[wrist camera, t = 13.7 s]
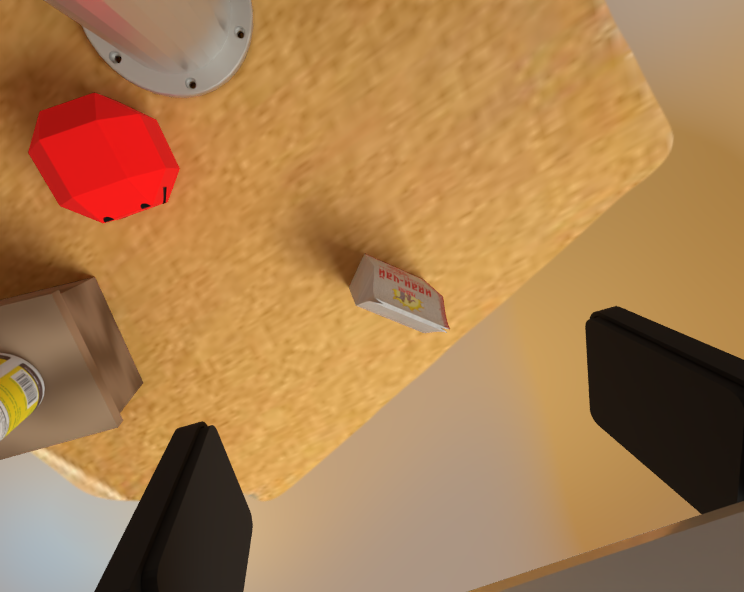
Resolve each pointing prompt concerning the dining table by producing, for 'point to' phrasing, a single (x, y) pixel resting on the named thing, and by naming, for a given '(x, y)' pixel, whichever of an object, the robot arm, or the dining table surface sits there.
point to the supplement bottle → (17, 391)
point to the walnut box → (68, 364)
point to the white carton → (398, 296)
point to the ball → (103, 158)
